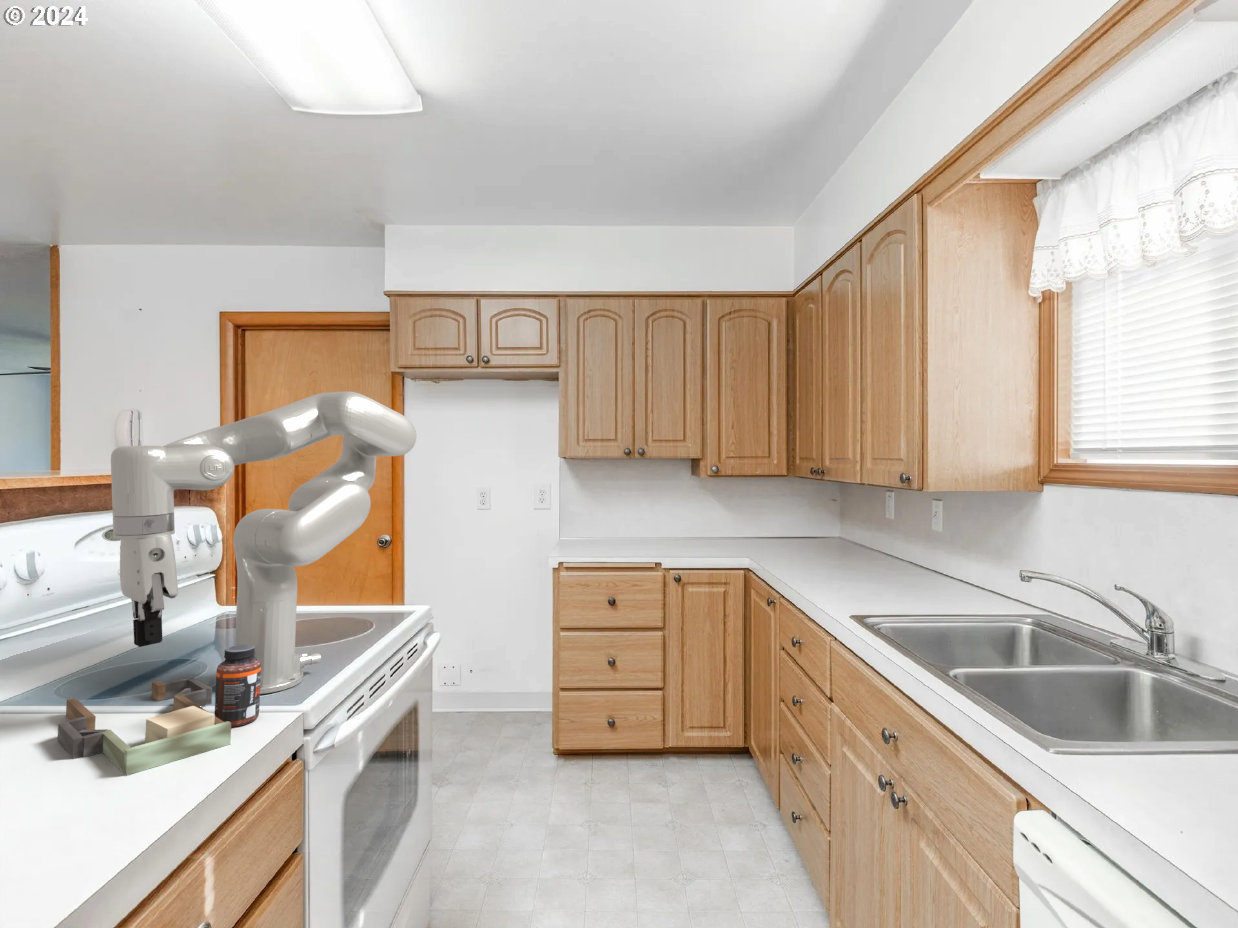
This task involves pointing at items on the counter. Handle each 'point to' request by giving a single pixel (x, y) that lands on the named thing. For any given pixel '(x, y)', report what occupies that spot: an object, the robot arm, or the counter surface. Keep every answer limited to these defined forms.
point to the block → (177, 723)
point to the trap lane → (88, 741)
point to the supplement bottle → (238, 686)
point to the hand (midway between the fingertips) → (148, 643)
